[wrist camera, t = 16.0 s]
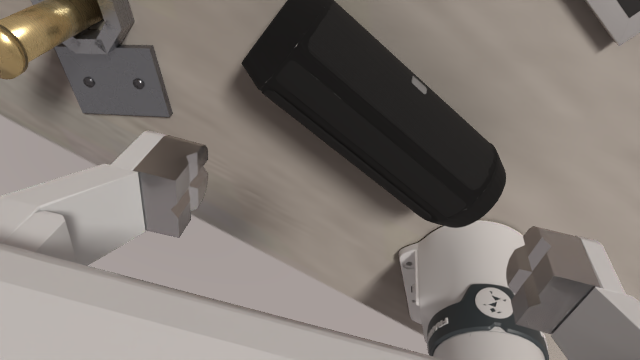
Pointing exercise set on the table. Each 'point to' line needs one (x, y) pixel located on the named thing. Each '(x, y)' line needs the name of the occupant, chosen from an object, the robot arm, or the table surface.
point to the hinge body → (113, 68)
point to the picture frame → (618, 17)
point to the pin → (42, 31)
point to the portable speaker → (375, 112)
